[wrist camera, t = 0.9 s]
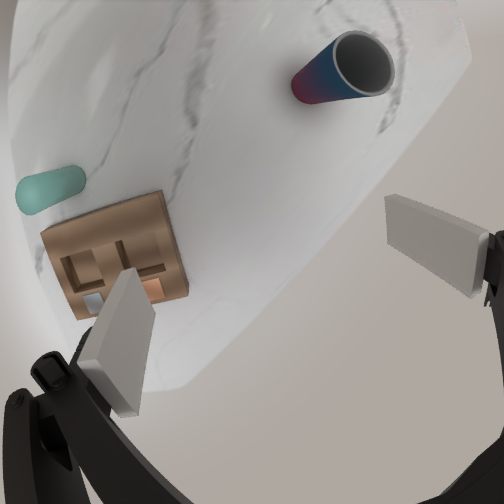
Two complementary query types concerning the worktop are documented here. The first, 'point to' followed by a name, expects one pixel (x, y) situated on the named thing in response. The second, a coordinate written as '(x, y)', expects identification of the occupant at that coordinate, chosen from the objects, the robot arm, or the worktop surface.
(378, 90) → the cup
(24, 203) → the plug
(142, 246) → the socket board
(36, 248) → the worktop surface
